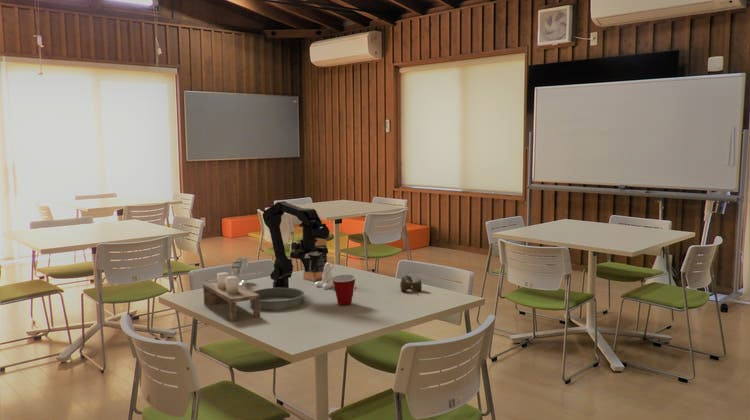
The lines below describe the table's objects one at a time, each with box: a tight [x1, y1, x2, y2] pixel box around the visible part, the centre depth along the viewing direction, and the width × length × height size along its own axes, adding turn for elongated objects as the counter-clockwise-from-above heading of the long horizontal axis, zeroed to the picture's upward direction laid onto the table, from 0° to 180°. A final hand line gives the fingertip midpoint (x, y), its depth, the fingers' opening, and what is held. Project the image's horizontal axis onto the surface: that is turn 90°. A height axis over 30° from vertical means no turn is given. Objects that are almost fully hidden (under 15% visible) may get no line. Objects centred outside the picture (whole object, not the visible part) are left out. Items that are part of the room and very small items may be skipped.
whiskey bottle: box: [303, 238, 328, 282], centre depth 325 cm, size 10×10×32 cm
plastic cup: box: [331, 273, 357, 306], centre depth 273 cm, size 11×11×12 cm
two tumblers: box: [216, 271, 238, 293], centre depth 263 cm, size 5×15×6 cm, turn 33°
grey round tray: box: [249, 287, 305, 310], centre depth 276 cm, size 25×25×4 cm
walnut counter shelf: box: [202, 282, 261, 323], centre depth 265 cm, size 12×33×9 cm, turn 33°
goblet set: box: [230, 257, 249, 288], centre depth 309 cm, size 28×6×13 cm, turn 4°
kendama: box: [399, 275, 423, 293], centre depth 299 cm, size 6×10×20 cm
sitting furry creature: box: [314, 262, 334, 290], centre depth 306 cm, size 10×9×12 cm
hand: (309, 271), depth 284 cm, fingers open, 3 cm apart
